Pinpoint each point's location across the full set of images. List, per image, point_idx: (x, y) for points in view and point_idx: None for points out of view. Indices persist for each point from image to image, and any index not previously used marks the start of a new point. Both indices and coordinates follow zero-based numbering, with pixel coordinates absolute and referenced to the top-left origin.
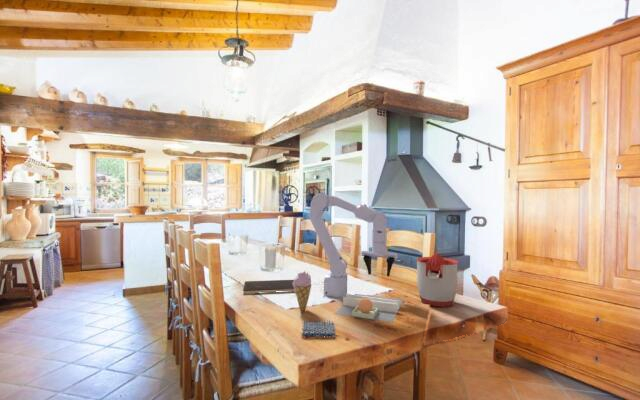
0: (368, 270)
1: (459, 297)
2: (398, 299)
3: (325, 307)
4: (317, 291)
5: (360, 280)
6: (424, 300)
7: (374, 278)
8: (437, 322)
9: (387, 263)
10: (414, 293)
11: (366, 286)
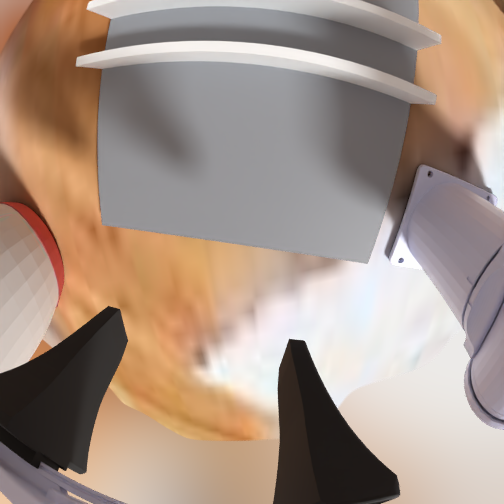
0: (307, 369)
1: None
2: (122, 221)
3: (475, 59)
4: None
5: None
6: (33, 221)
7: (273, 436)
8: (14, 47)
9: (37, 392)
10: None
11: None
